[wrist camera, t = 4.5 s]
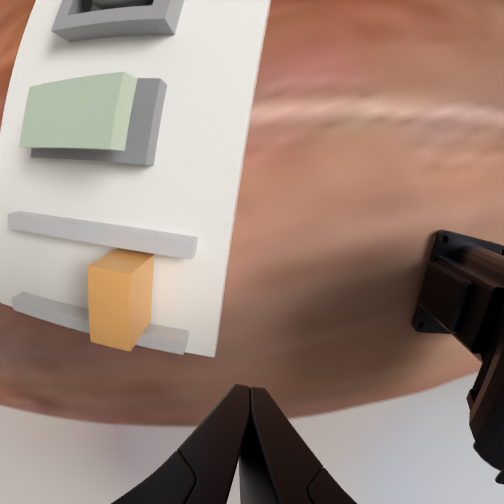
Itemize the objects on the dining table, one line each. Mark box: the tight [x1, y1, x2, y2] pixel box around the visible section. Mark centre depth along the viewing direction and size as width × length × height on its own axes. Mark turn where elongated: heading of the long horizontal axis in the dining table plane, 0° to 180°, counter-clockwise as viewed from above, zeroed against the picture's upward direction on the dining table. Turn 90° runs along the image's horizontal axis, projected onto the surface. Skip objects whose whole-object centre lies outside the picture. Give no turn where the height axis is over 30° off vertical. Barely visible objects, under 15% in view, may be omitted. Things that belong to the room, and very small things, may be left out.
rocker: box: [19, 72, 138, 151], centre depth 11 cm, size 6×3×1 cm, turn 81°
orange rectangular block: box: [88, 248, 155, 352], centre depth 14 cm, size 2×4×3 cm, turn 171°
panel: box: [0, 0, 271, 357], centre depth 14 cm, size 15×23×4 cm, turn 171°
